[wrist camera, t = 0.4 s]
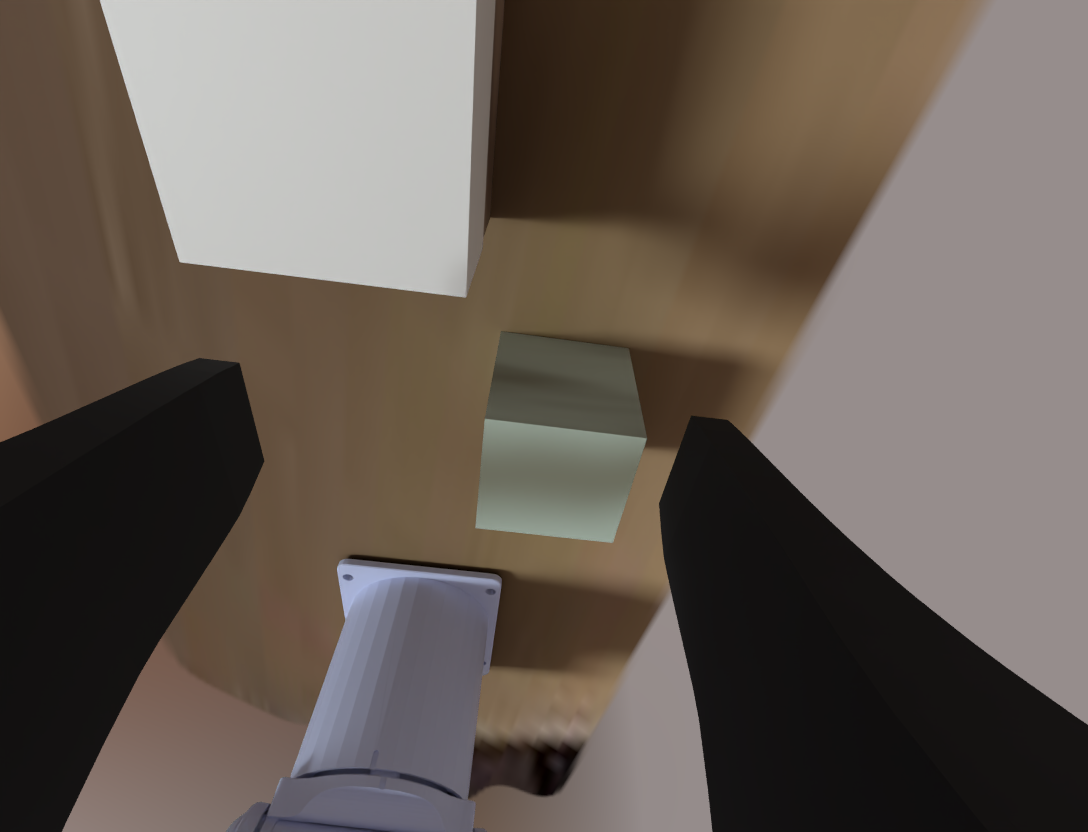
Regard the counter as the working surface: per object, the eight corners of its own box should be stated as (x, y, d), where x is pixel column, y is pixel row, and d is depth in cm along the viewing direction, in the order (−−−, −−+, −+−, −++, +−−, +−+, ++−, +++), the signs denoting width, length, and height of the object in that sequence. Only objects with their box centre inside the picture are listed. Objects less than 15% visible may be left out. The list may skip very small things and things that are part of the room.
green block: (602, 444, 21) (612, 542, 17) (491, 430, 21) (475, 527, 17) (628, 347, 19) (647, 438, 15) (501, 330, 18) (485, 418, 14)
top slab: (482, 248, 14) (465, 297, 11) (247, 217, 14) (179, 262, 11) (498, -58, 10) (479, -79, 8) (177, -109, 10) (54, -148, 8)
